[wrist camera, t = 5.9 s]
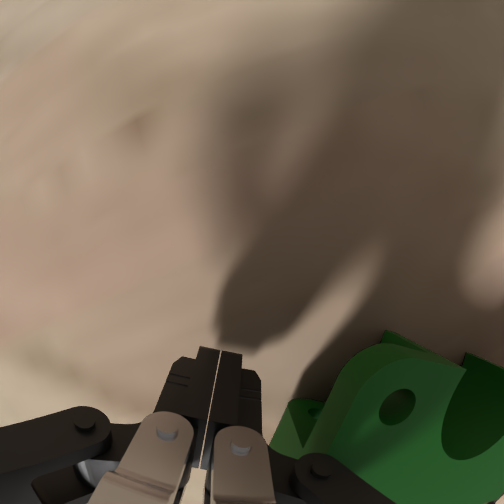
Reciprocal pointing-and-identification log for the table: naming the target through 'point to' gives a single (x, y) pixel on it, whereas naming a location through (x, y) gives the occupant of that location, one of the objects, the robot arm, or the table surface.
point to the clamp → (408, 424)
